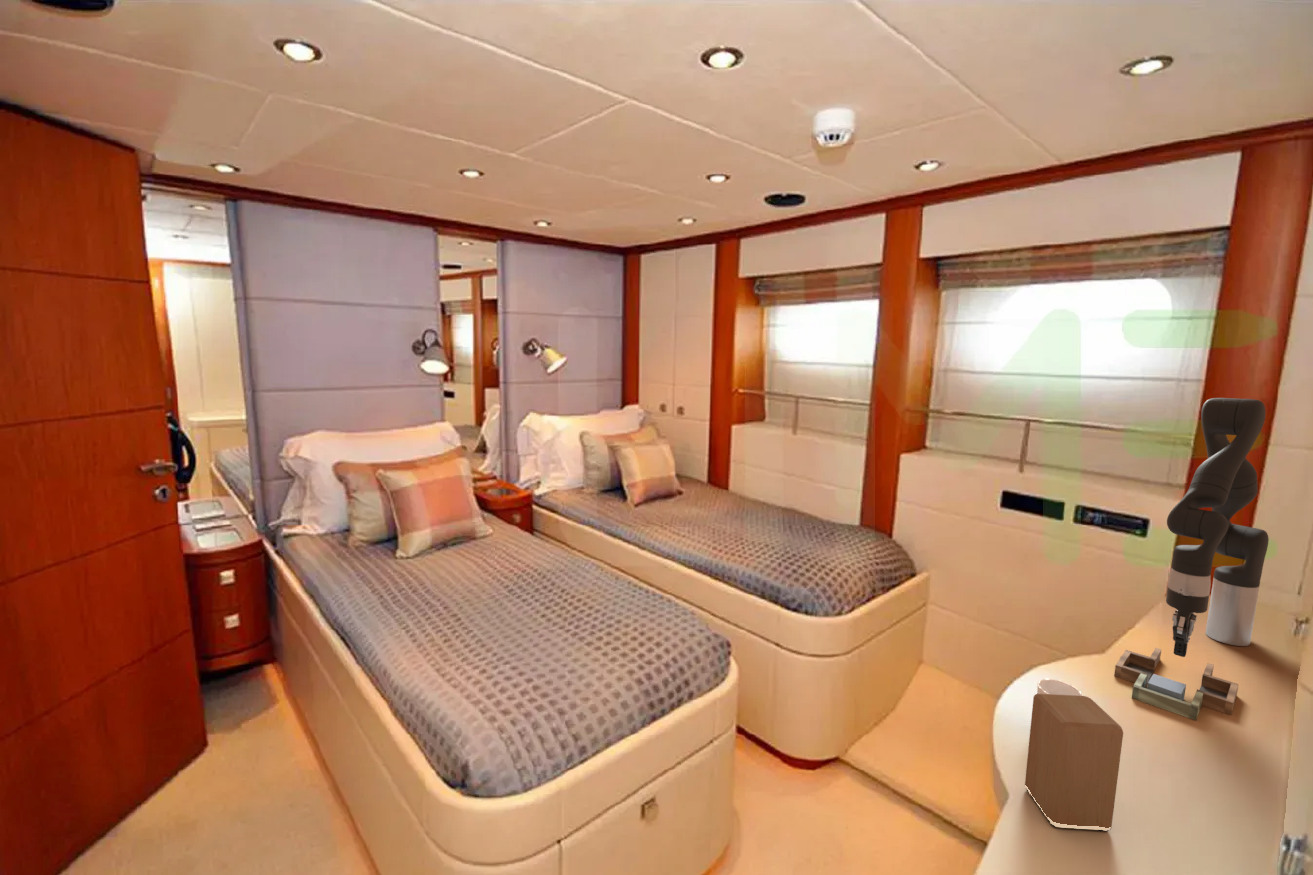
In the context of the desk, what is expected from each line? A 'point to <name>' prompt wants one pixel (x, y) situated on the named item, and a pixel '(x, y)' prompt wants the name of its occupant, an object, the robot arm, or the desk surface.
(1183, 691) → the slate block
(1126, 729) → the desk surface
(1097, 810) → the wooden block
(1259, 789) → the desk surface
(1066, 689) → the white cup
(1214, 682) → the box
